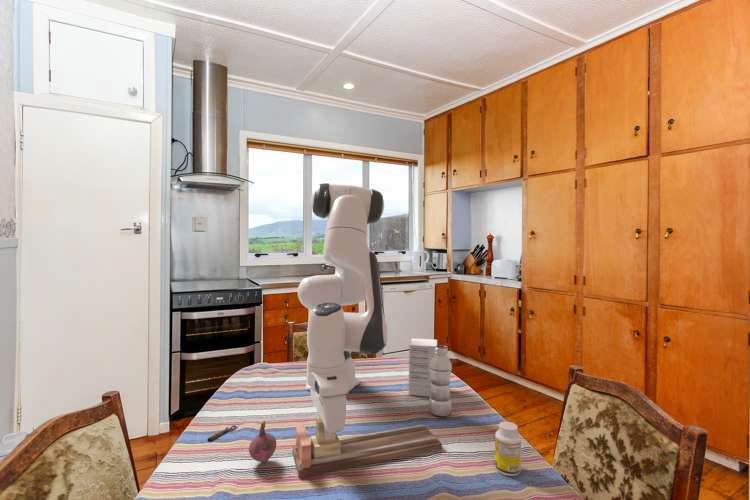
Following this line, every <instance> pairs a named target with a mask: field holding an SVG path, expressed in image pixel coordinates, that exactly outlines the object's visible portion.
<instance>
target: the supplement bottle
mask: <svg viewBox="0 0 750 500" xmlns="http://www.w3.org/2000/svg"><path fill="white" fill-rule="evenodd" d="M518 429H519V427H518V425H517V424H515V423H514V422H511V421H505V420H504V421H501V422H500V423H499V425H498V430H496V431H495V437H494V438H495V439H494V444H495V445H494V467H495V469H496V470H497V472H498V473H500V474H501V475H504V476H508V477H514V476H515V477H516V476H518V475H520V473H521V469H522V468H521V467H522V465H521V464H522V436H521V434H519V431H518Z"/></svg>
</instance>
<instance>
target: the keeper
mask: <svg viewBox="0 0 750 500" xmlns="http://www.w3.org/2000/svg"><path fill="white" fill-rule="evenodd" d="M323 429H324V424H323V422H322V420H321V418H320V416H318V415H317V416H315V435H311V436H310V443H311V451H312V454H313V457H314V459H316V458H321V457H327V456H332V455H338V454H341V442H340V440H339V439H340V438H339V437H338V434H337V432H335V433H332V438H331V439H325V438H324V435H323Z"/></svg>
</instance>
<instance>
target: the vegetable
mask: <svg viewBox="0 0 750 500" xmlns="http://www.w3.org/2000/svg"><path fill="white" fill-rule="evenodd" d="M265 428H266V420H263V422H262V423H261V425H260V427H259V433H258V434H257V435H256V436H254V438H252V440H251V441H250V443H249V446H248V453H249V456H250V457H251V458H252V460H254V461H256V462H260V464H264V463H266V462H268V461H269V460H270V458H272V456H273V455H274V453H275V452H276V449H277V439H276V438H275V436H274V435H273V434H271V433H270V432H266V431H265Z"/></svg>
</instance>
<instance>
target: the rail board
mask: <svg viewBox="0 0 750 500" xmlns="http://www.w3.org/2000/svg"><path fill="white" fill-rule="evenodd" d="M339 440H340V442H341V454H338V455H332V456H327V457H321V458H316V459H314V457H313V454H312V451H311V439H310V437H309V436H308V433H307V429H306V427H305V425H299V426H296V427H295V446H292V457H293V461H294V464H295V468H296V473H297V476H298V479H300V478H303V477H309V476H315V475H320V474H325V473H329V472H334V471H335V472H336V471H339V470H344V469H349V468H355V467H360V466H365V465H370V464H376V463H381V462H384V461H391V460H395V459H396V460H397V459H400V458H406V457H410V456H415V455H420V454H427V453H431V452H435V451H441V450H443V443H442V442H441V441H440V440H439V438H438V436H436V435H434V434H433V433H432V431H430V430H429V429H428V428H427V426H426V425H425V424H423V423H422V424H418V425H417V424H416V425H412V426H407V427H399V428H394V429H388V430H382V431H377V432H370V433H364V434H360V435H353V436H348V437H342V438H339Z"/></svg>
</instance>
